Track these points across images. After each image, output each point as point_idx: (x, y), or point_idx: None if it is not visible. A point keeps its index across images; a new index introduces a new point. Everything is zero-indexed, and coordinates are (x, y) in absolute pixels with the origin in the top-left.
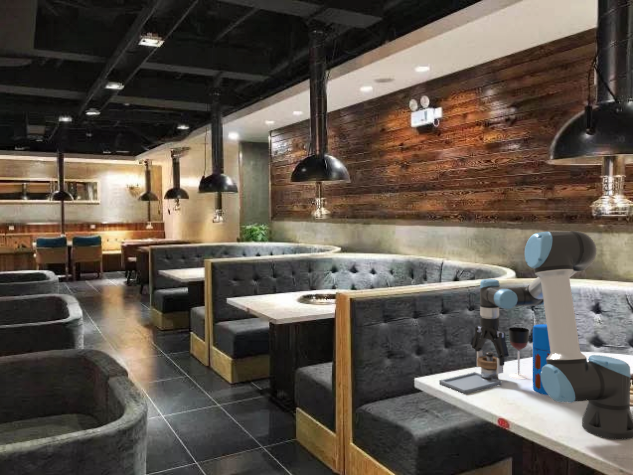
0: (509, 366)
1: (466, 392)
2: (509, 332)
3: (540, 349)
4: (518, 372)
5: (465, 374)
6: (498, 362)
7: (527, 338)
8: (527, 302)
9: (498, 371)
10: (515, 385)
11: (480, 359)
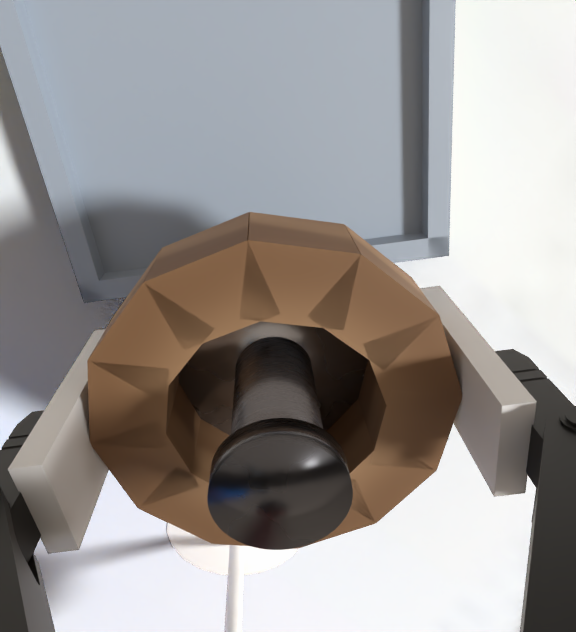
0: (444, 595)
1: None
2: None
3: None
4: (231, 552)
5: (443, 92)
6: (42, 416)
7: None
8: None
9: (86, 344)
10: (48, 386)
11: (346, 306)
